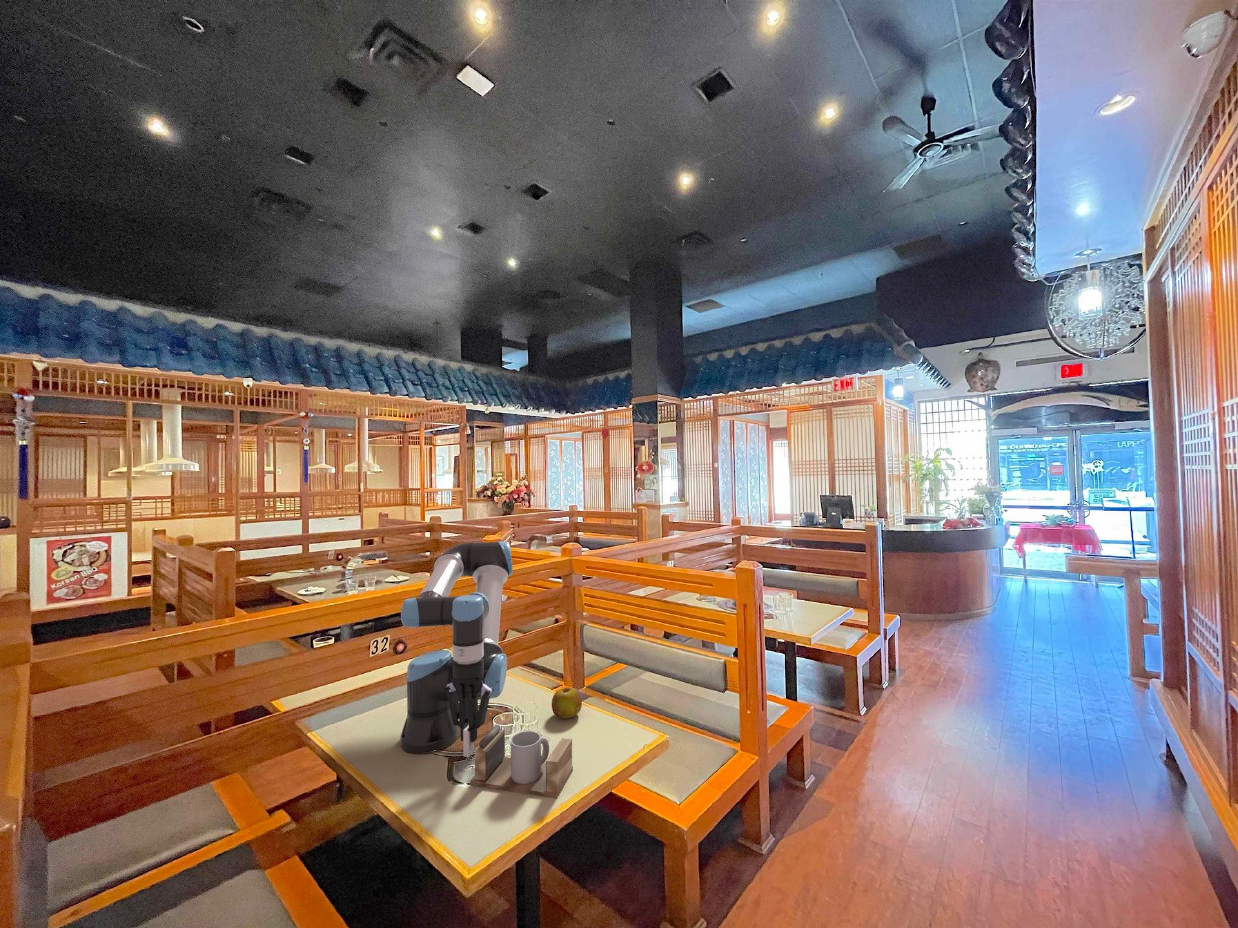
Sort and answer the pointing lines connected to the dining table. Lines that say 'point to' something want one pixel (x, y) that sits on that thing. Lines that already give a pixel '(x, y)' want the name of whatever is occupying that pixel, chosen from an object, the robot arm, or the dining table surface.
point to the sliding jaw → (489, 753)
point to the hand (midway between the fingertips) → (469, 753)
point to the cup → (527, 756)
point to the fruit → (566, 703)
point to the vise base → (545, 785)
